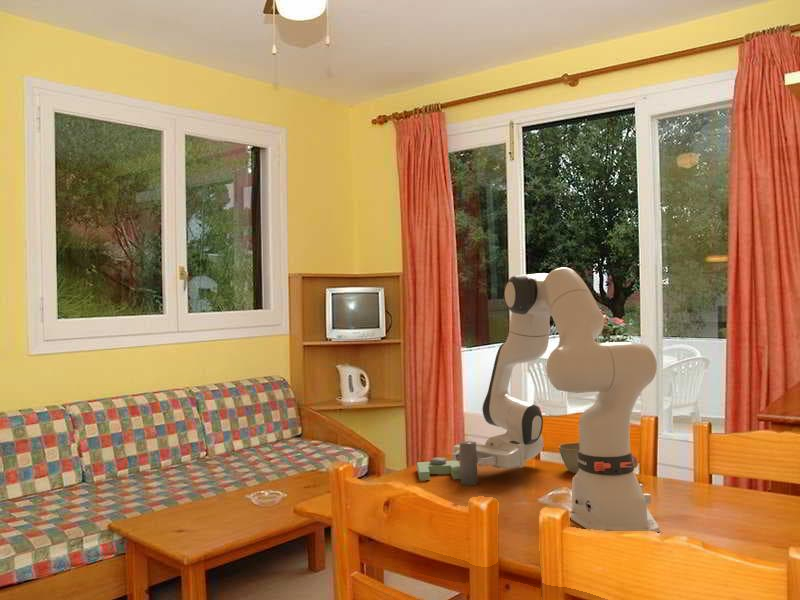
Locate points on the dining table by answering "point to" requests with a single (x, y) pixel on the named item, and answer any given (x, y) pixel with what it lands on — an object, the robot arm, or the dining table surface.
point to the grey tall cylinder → (468, 463)
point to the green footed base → (438, 468)
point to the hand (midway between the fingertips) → (466, 460)
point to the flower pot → (570, 456)
